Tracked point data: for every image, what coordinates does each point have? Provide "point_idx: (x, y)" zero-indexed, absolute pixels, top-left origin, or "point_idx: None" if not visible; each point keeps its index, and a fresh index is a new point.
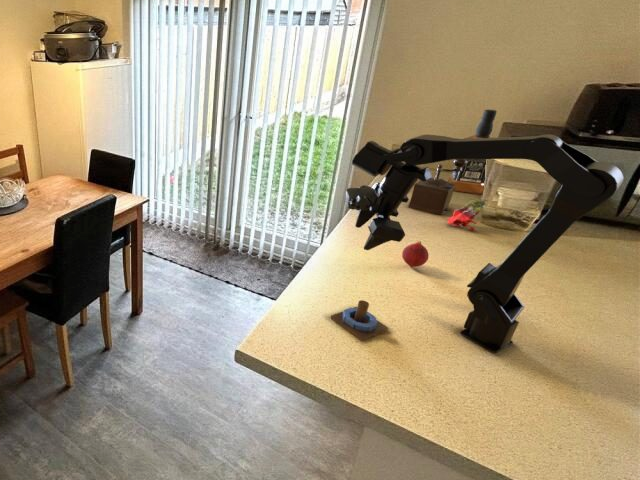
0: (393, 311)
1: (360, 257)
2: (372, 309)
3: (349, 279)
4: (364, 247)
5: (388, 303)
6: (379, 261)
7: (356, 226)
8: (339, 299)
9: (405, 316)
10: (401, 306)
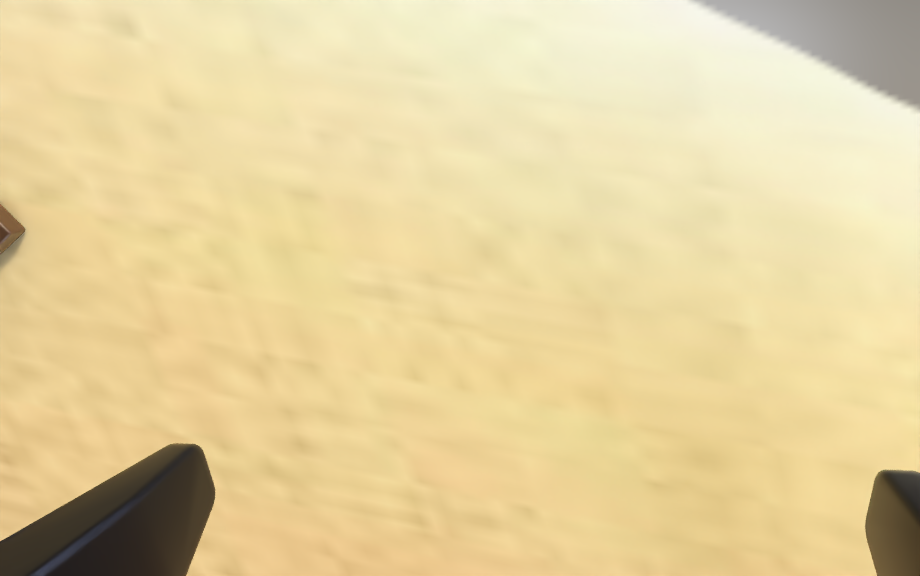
0: (114, 475)
1: (874, 414)
2: (81, 348)
3: (470, 261)
4: (149, 460)
5: None
6: (825, 540)
7: (880, 488)
8: (123, 130)
9: None
10: None
